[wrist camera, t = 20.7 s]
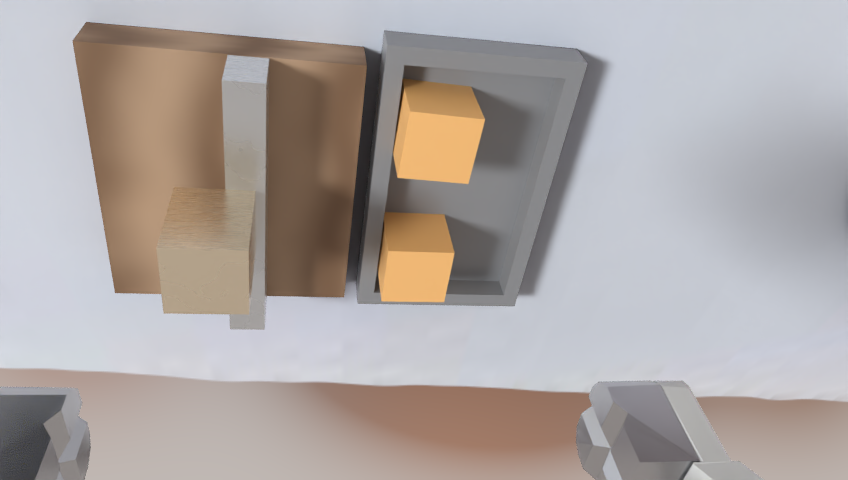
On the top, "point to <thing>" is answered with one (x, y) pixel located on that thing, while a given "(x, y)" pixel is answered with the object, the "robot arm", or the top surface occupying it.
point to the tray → (494, 163)
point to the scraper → (225, 214)
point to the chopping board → (221, 145)
